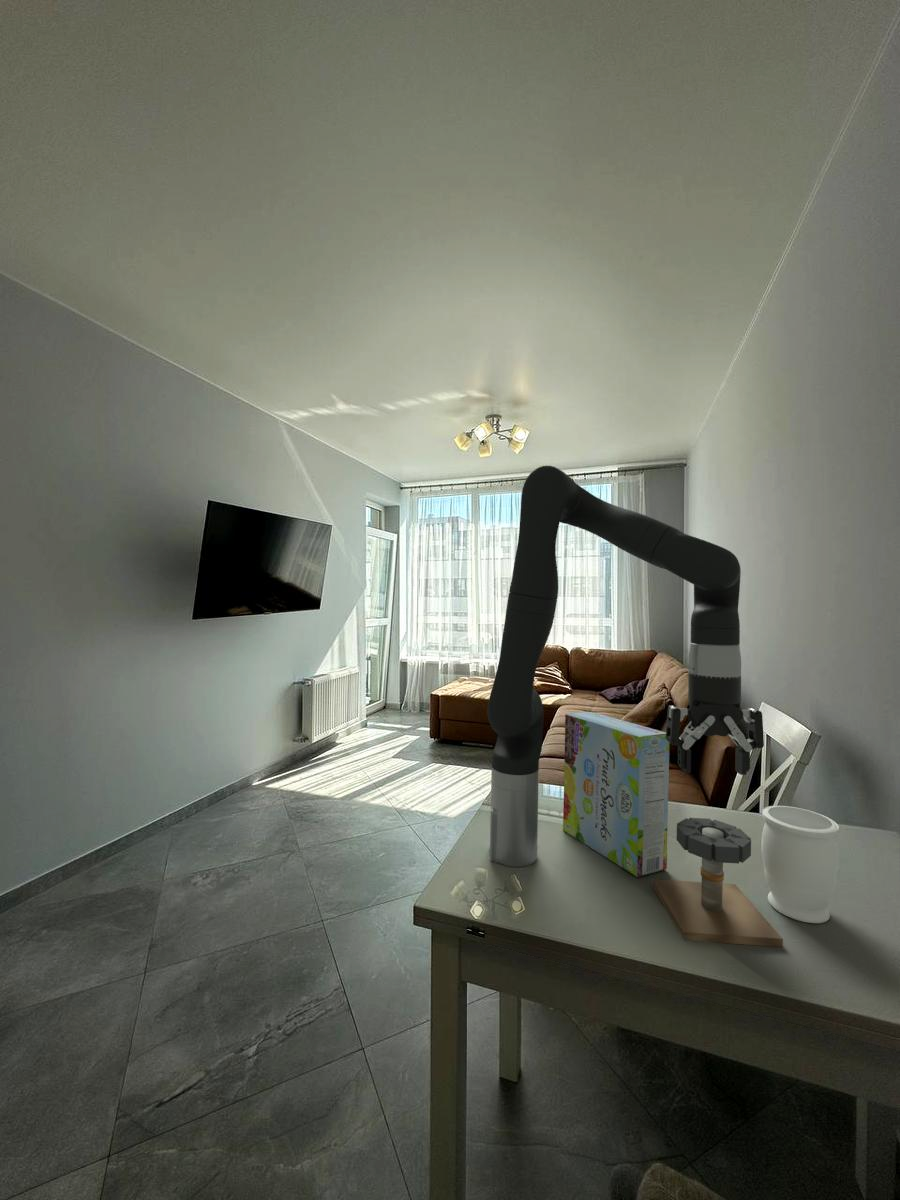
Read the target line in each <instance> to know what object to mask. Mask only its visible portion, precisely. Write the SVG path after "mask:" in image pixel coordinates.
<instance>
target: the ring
mask: <svg viewBox="0 0 900 1200" xmlns="http://www.w3.org/2000/svg"><path fill="white" fill-rule="evenodd" d="M707 827H709V828H715V829H718V830H720V831H722V832H723V838H712V837H709V836H706V835H704V834H702V829H703V828H707ZM676 841H677V842H678V844H679V845H680V846H681V847H682V849H684V851H687V853H690V854H691V855H695V857H700V858H701V859H702V858H704V859H707V860H709V861H711V860H714V861H715V862H720V863H723V864H724V863H725V864H740V863H742V864H743V863H744V862H745V861H746V860H748V859H749V858H750V857H751V856H752V839H751V837H750V836H748V835H747V833H745V832H744V831H743V829H741V828H738V827H737V826H736V825H732V824H730V823H726V822H723V821H720V820H717V819H713V820H712V819H711V818H706V817H705V818H704V817H703V818H702V817H688V818H684V819H683V820H680V821H679V822H677V823H676Z"/></svg>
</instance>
